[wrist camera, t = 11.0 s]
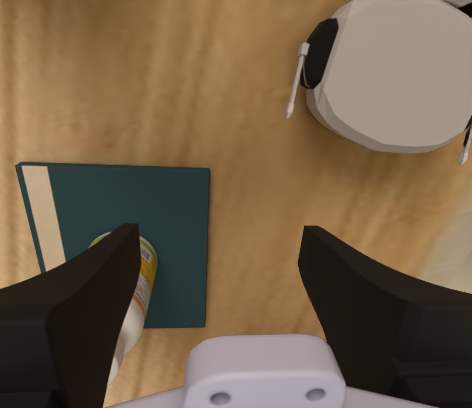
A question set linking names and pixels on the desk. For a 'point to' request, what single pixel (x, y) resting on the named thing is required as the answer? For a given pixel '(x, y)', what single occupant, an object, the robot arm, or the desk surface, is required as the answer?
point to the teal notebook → (127, 211)
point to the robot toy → (392, 74)
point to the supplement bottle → (135, 306)
